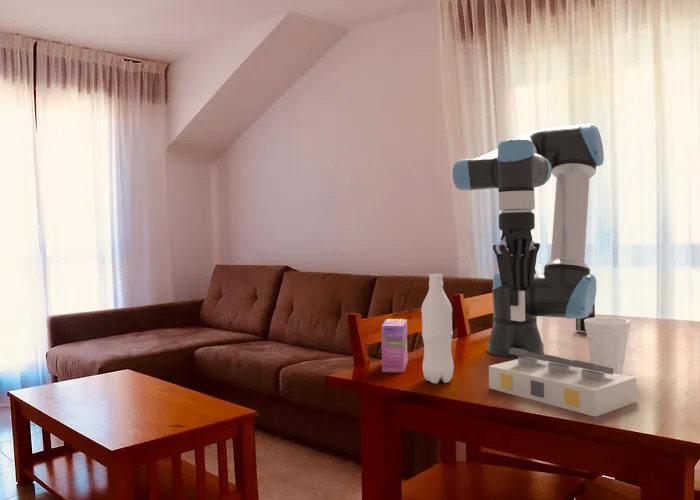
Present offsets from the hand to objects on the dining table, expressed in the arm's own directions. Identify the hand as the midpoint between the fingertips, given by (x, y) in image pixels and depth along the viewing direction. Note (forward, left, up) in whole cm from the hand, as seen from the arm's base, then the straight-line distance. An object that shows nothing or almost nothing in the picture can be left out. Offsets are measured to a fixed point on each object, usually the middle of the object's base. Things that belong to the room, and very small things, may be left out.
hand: (517, 320), depth 132 cm
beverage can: (-68, -29, -16) cm, 76 cm away
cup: (-24, +6, -16) cm, 29 cm away
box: (+7, -34, -16) cm, 38 cm away
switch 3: (-3, +16, -8) cm, 18 cm away
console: (-3, +8, -15) cm, 17 cm away
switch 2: (-3, +8, -8) cm, 12 cm away
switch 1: (-3, 0, -8) cm, 9 cm away
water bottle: (+8, -17, -16) cm, 24 cm away
